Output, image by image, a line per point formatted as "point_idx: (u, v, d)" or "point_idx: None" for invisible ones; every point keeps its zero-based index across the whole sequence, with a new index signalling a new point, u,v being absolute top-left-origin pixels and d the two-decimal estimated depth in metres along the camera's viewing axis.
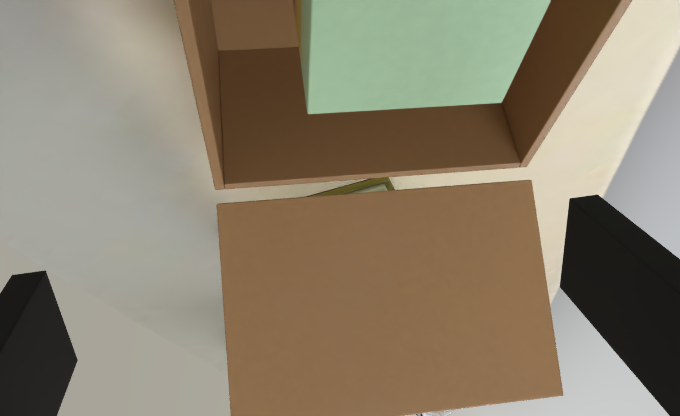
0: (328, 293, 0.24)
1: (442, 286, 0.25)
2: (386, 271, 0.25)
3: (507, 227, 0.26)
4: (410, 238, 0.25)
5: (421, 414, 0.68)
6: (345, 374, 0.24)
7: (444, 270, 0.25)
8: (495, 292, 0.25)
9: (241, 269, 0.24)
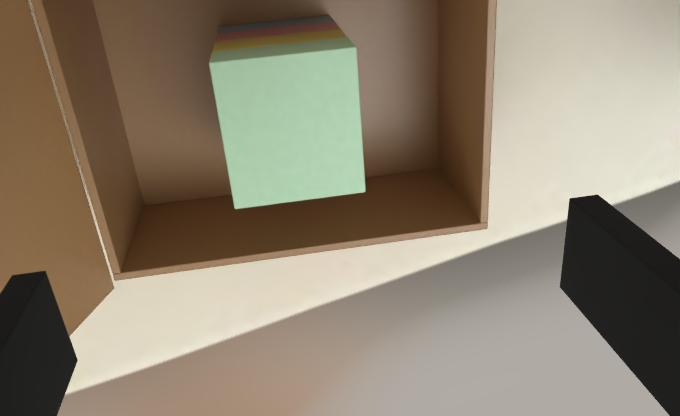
0: None
1: (23, 252, 0.22)
2: (18, 186, 0.22)
3: (81, 287, 0.26)
4: (50, 199, 0.24)
5: None
6: None
7: (36, 246, 0.23)
8: None
9: None
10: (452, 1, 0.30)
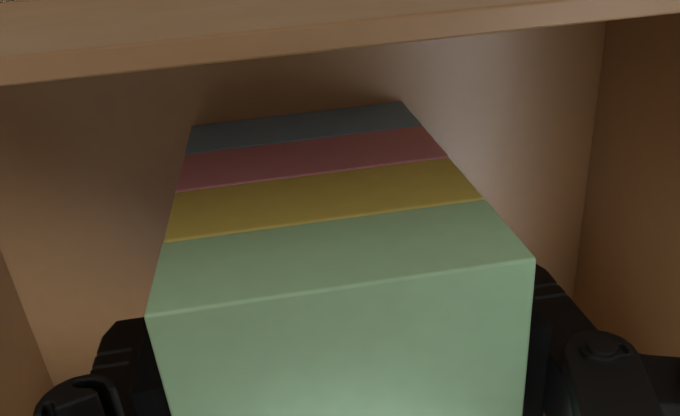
0: None
1: None
2: None
3: None
4: None
5: None
6: None
7: None
8: None
9: None
10: (655, 85, 0.15)
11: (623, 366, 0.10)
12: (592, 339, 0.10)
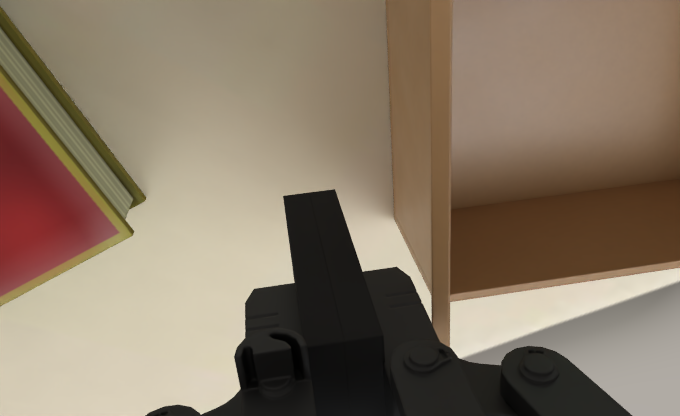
0: None
1: None
2: None
3: None
4: None
5: None
6: None
7: None
8: None
9: None
10: None
11: (444, 372, 0.10)
12: (413, 350, 0.10)
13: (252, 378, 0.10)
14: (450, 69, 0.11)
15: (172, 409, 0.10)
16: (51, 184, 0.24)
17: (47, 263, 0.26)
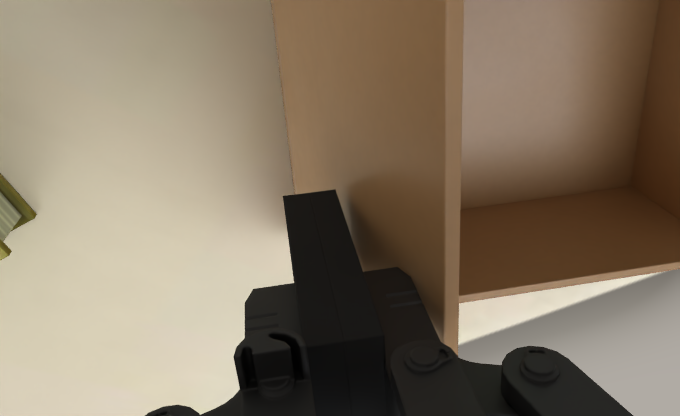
0: None
1: None
2: None
3: None
4: None
5: None
6: None
7: None
8: None
9: None
10: None
11: (445, 371, 0.10)
12: (414, 350, 0.10)
13: (251, 378, 0.10)
14: (462, 70, 0.11)
15: (171, 409, 0.10)
16: None
17: None
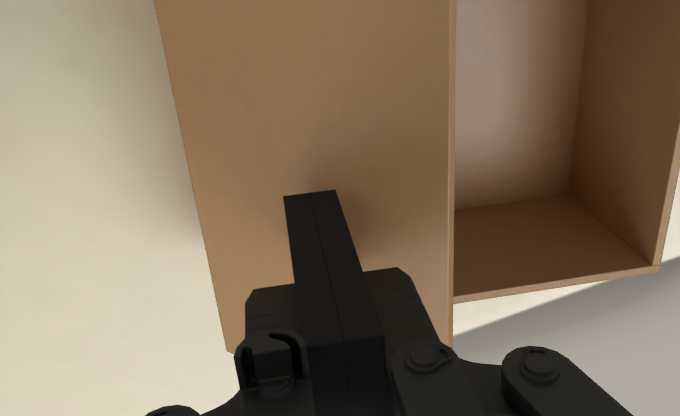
0: None
1: None
2: None
3: None
4: None
5: None
6: None
7: None
8: None
9: None
10: (620, 5, 0.25)
11: (445, 371, 0.10)
12: (414, 350, 0.10)
13: (251, 378, 0.10)
14: (455, 34, 0.13)
15: (171, 409, 0.10)
16: None
17: None
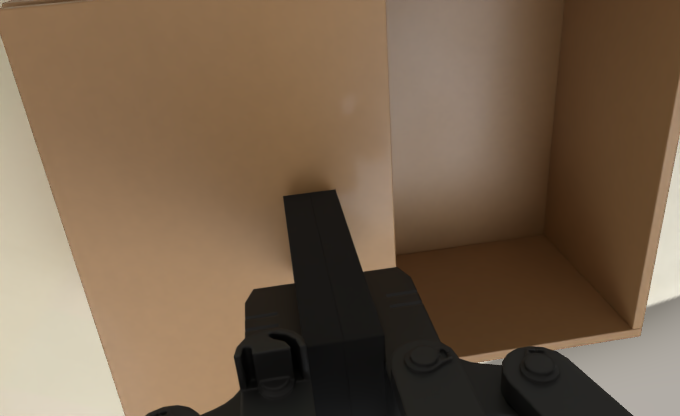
0: None
1: None
2: None
3: None
4: None
5: None
6: None
7: None
8: None
9: None
10: (595, 26, 0.22)
11: (445, 371, 0.10)
12: (414, 350, 0.10)
13: (252, 378, 0.10)
14: None
15: (171, 409, 0.10)
16: None
17: None
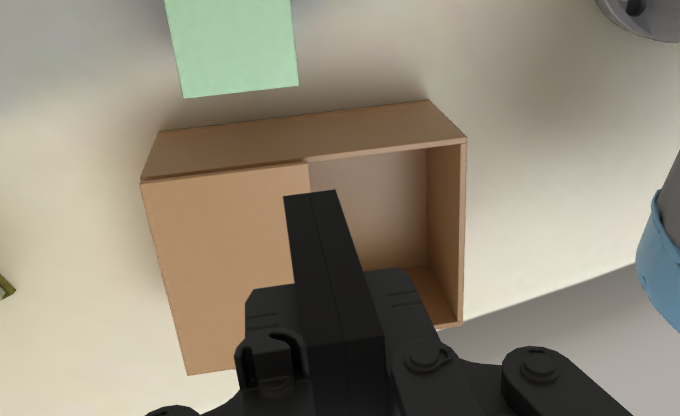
0: None
1: None
2: None
3: None
4: None
5: None
6: None
7: None
8: None
9: None
10: (436, 157, 0.40)
11: (445, 371, 0.10)
12: (414, 350, 0.10)
13: (251, 378, 0.10)
14: None
15: (171, 409, 0.10)
16: None
17: None
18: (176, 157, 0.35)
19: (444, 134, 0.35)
